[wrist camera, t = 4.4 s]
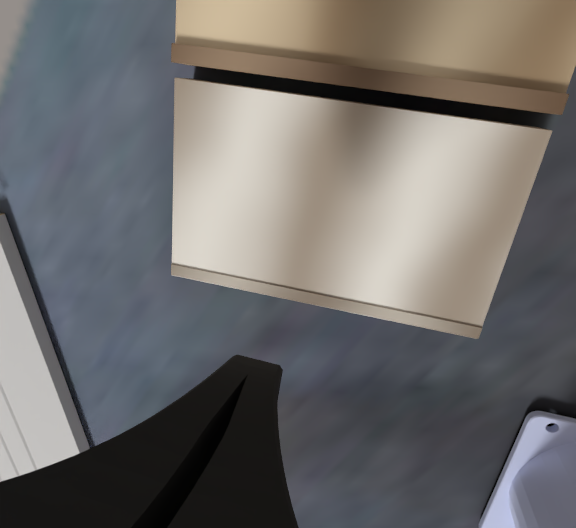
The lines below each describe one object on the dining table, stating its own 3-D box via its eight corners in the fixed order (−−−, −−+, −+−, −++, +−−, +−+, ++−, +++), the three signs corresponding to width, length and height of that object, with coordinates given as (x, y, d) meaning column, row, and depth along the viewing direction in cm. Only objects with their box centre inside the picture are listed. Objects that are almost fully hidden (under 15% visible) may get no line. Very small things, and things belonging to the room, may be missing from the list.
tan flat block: (537, 127, 15) (553, 131, 14) (470, 320, 18) (477, 339, 17) (191, 78, 17) (173, 77, 15) (185, 262, 20) (171, 275, 19)
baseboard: (24, 588, 35) (156, 607, 32) (-5, 628, 32) (136, 653, 29) (-159, 225, 24) (15, 208, 22) (-225, 241, 22) (-36, 224, 19)
